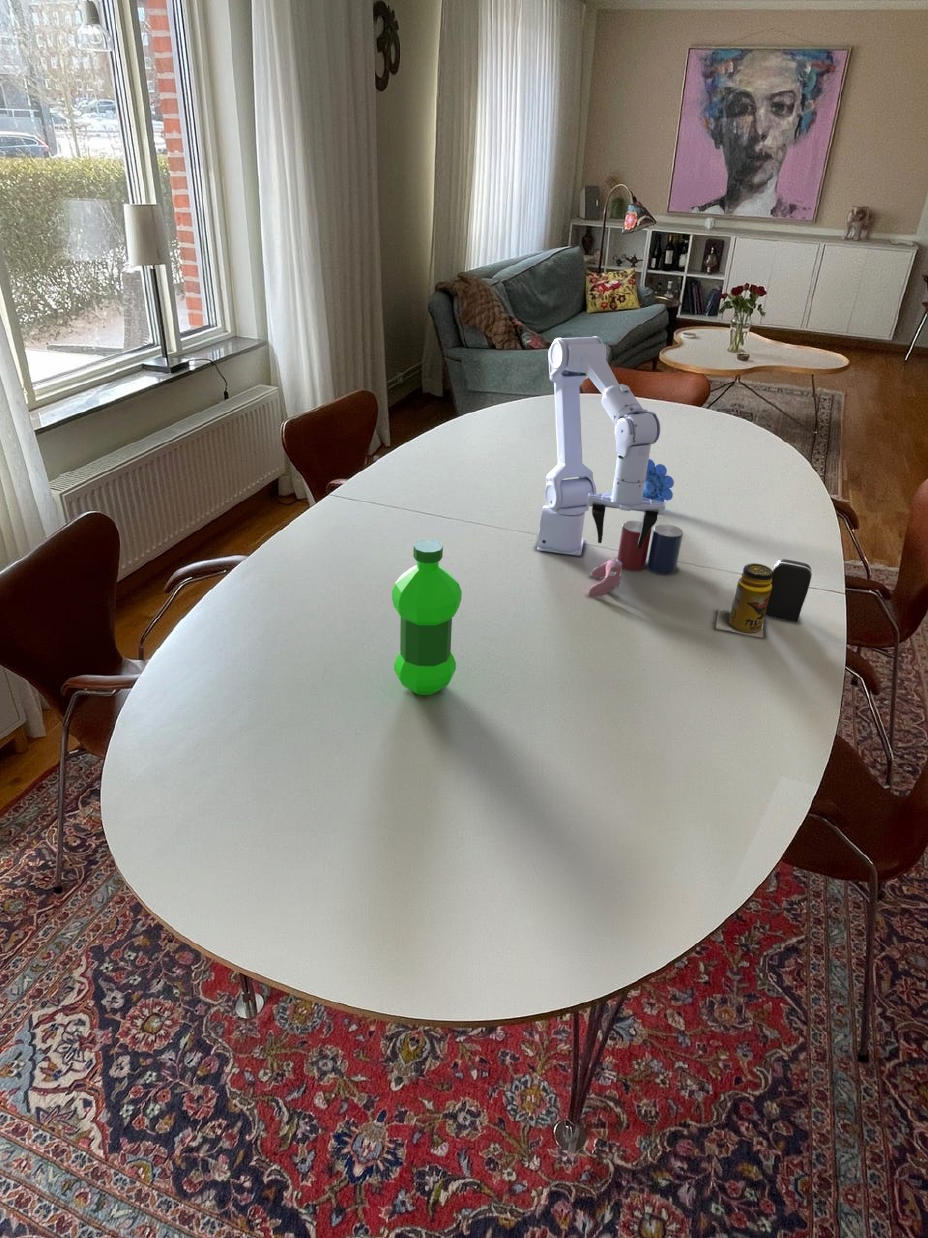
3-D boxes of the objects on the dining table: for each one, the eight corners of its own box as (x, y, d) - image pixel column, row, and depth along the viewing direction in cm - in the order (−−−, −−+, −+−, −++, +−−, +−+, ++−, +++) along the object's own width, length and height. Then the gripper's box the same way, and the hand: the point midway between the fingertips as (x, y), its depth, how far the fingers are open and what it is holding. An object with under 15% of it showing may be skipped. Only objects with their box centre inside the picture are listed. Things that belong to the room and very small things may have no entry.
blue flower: (619, 507, 204) (626, 461, 198) (625, 498, 210) (632, 452, 203) (666, 516, 201) (675, 469, 194) (671, 507, 206) (680, 460, 200)
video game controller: (605, 606, 164) (626, 580, 160) (586, 594, 163) (606, 568, 160) (608, 584, 172) (628, 559, 168) (589, 572, 172) (609, 547, 168)
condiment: (762, 638, 153) (778, 580, 147) (715, 629, 155) (729, 572, 149) (763, 619, 159) (777, 563, 153) (717, 611, 161) (730, 555, 155)
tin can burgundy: (616, 567, 175) (621, 530, 171) (617, 555, 180) (623, 518, 176) (644, 571, 174) (651, 533, 170) (645, 559, 179) (652, 522, 175)
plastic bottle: (434, 712, 129) (439, 568, 116) (379, 689, 133) (378, 548, 121) (468, 682, 136) (476, 543, 124) (415, 661, 141) (418, 525, 128)
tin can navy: (646, 572, 174) (653, 534, 170) (647, 559, 179) (654, 522, 175) (675, 576, 173) (683, 537, 169) (675, 563, 178) (683, 526, 174)
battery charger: (799, 615, 161) (814, 562, 155) (798, 624, 158) (814, 570, 152) (762, 606, 163) (776, 554, 158) (760, 615, 160) (774, 562, 155)
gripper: (589, 480, 153) (580, 547, 160) (669, 489, 151) (657, 557, 158) (592, 467, 159) (583, 532, 166) (669, 476, 157) (657, 541, 164)
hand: (619, 543), depth 162 cm, fingers open, 7 cm apart
